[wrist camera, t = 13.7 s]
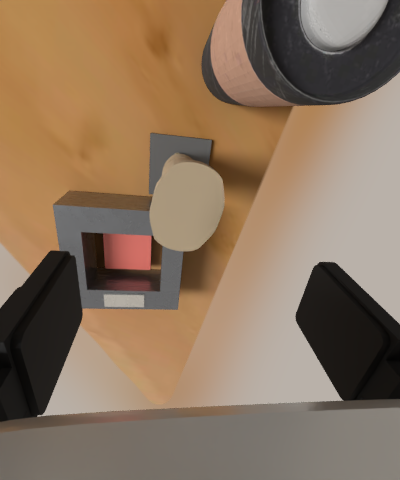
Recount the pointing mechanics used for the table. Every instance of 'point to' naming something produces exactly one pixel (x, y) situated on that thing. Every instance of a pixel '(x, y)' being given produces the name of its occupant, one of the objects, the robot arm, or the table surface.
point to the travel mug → (301, 51)
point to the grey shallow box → (114, 280)
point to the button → (127, 251)
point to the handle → (186, 204)
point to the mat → (168, 146)
